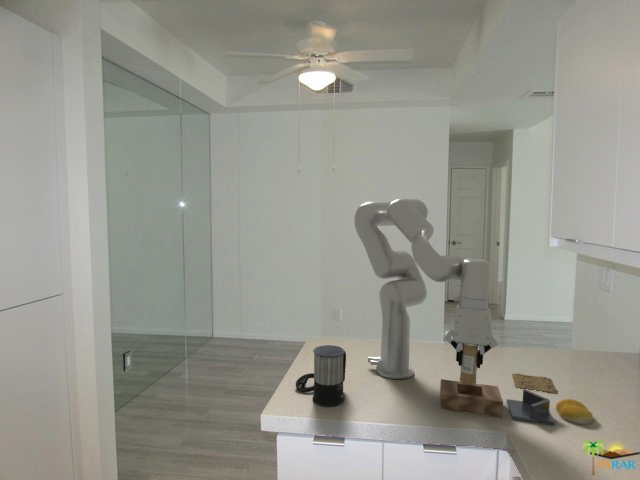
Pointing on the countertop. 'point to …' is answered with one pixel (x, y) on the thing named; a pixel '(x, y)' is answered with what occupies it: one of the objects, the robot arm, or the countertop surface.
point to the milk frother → (326, 376)
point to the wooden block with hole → (471, 398)
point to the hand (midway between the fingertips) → (468, 364)
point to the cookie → (534, 383)
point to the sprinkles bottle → (469, 364)
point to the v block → (531, 409)
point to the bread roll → (574, 411)
